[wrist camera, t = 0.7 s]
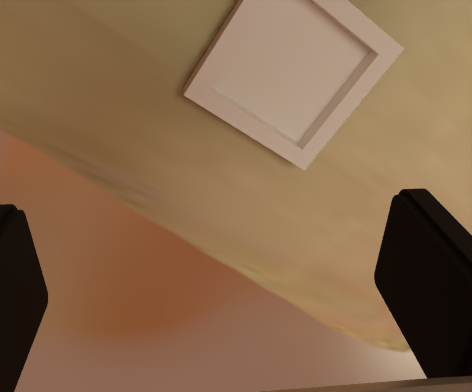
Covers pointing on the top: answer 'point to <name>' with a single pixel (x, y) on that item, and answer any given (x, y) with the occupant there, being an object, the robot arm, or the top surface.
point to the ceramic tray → (291, 71)
